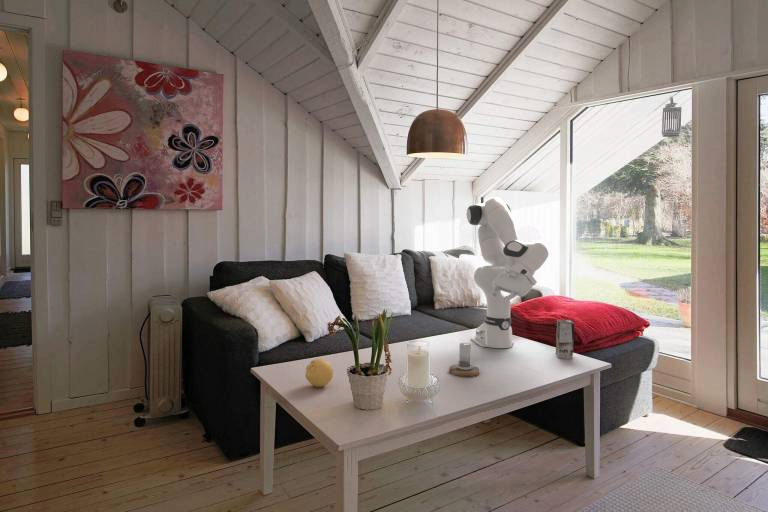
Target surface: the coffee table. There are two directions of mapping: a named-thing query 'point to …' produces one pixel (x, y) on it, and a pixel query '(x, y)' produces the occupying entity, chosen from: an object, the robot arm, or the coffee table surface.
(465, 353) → the knob
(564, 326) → the coffee box
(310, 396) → the coffee table surface
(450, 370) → the base disc
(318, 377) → the stress ball
